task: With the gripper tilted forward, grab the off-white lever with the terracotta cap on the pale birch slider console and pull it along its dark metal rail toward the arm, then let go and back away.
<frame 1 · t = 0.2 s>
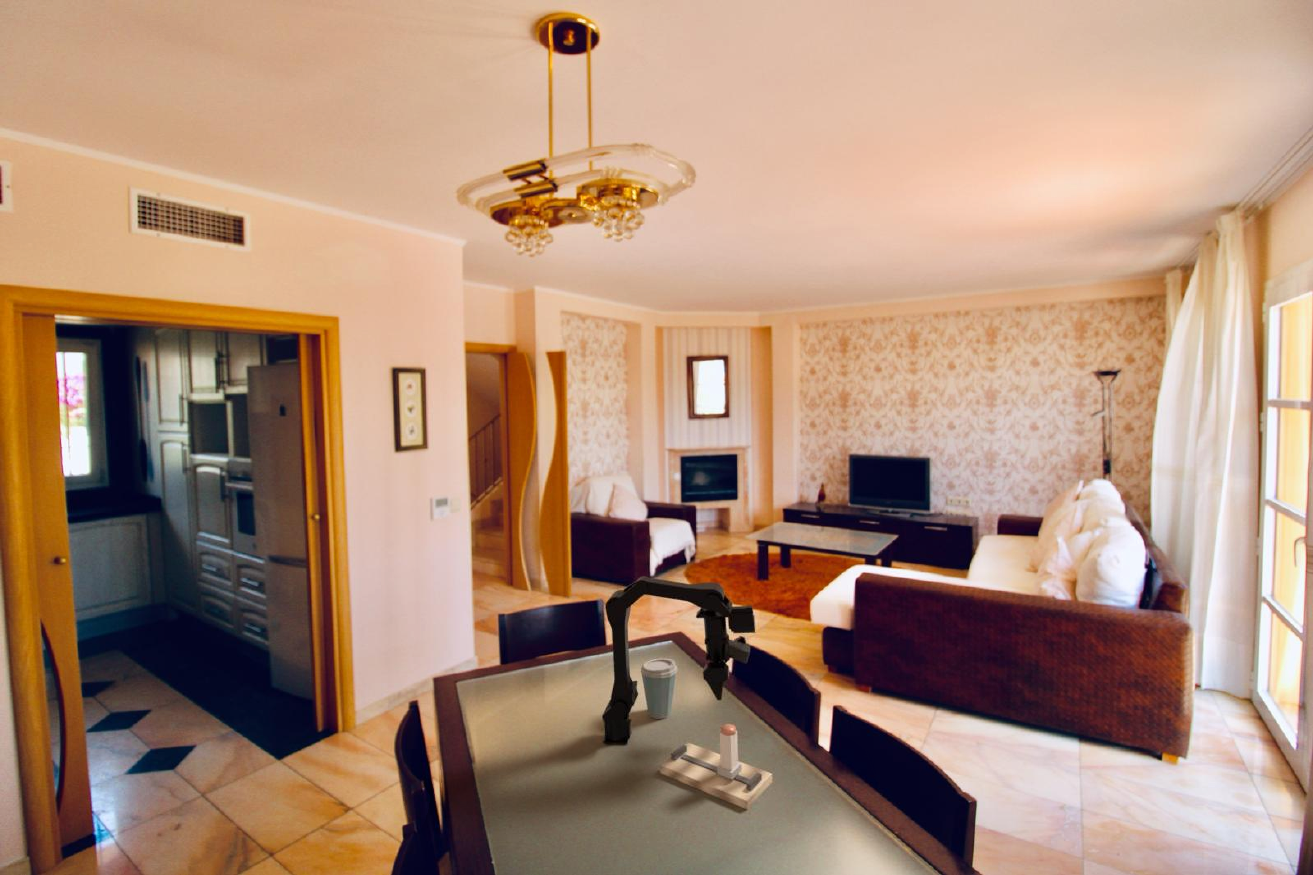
hand: (720, 691, 162), 14 cm above the table, tool pointing down, fingers open, 9 cm apart
slider console: (715, 777, 148), on the table
disposable coffee cup: (660, 713, 180), on the table
slider lever: (728, 750, 146), point 8 cm above the table, slide at 0.0 cm
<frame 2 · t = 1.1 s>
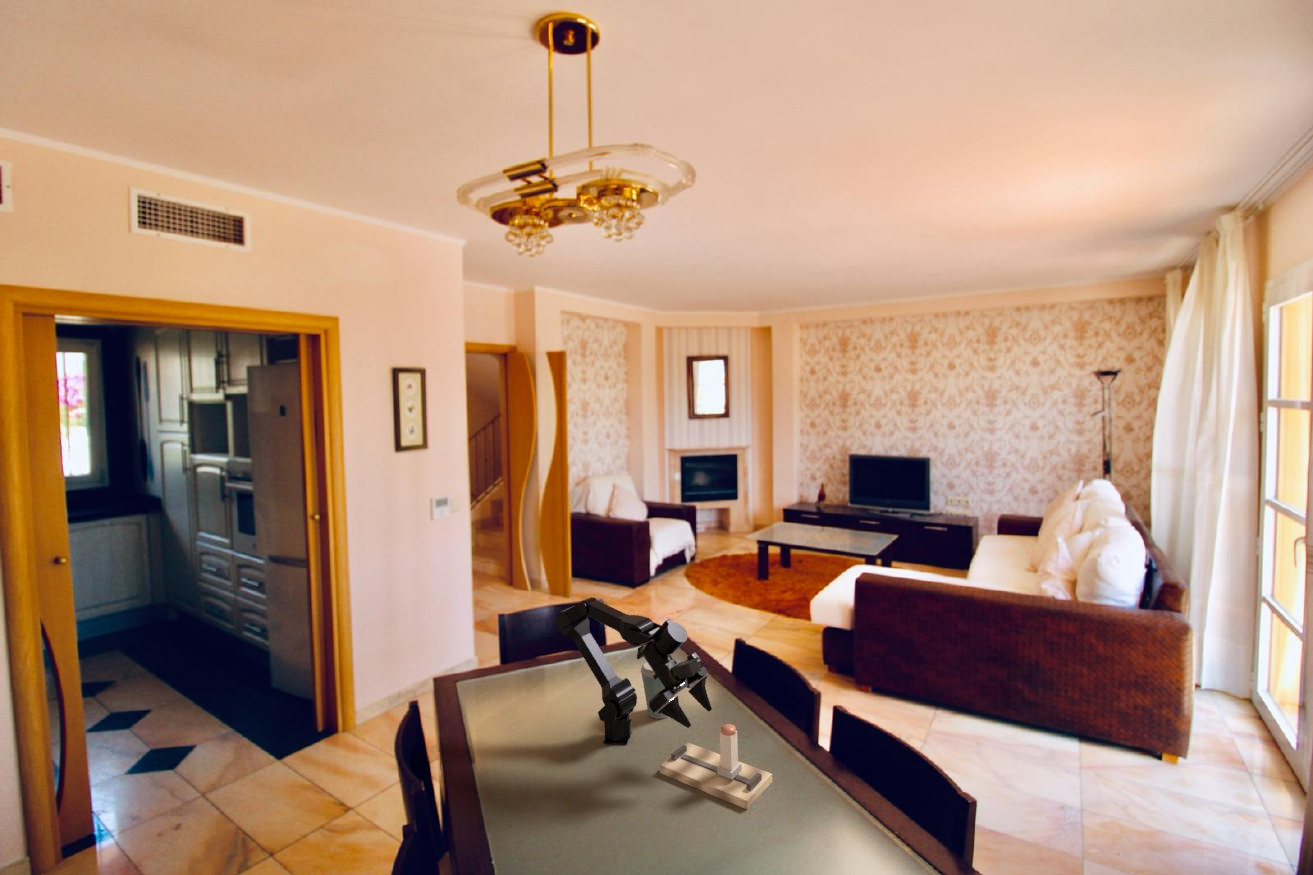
hand: (700, 718, 150), 13 cm above the table, tool tilted 45°, fingers open, 9 cm apart
nothing on the table moved.
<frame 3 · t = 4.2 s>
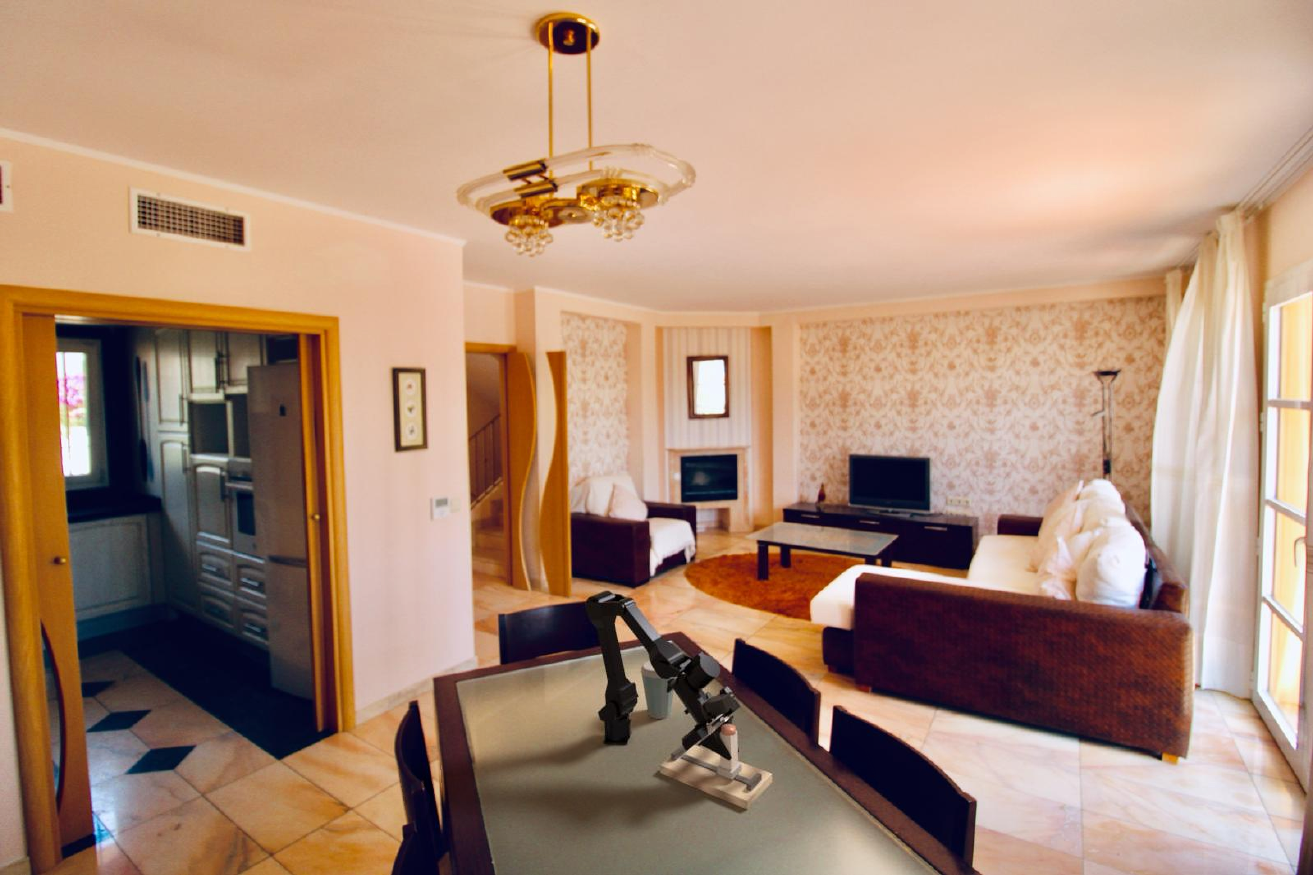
hand: (734, 756, 145), 7 cm above the table, tool tilted 45°, fingers closed on slider lever, 3 cm apart
slider lever: (728, 750, 146), point 8 cm above the table, slide at 0.0 cm, touching gripper
everything else where it was.
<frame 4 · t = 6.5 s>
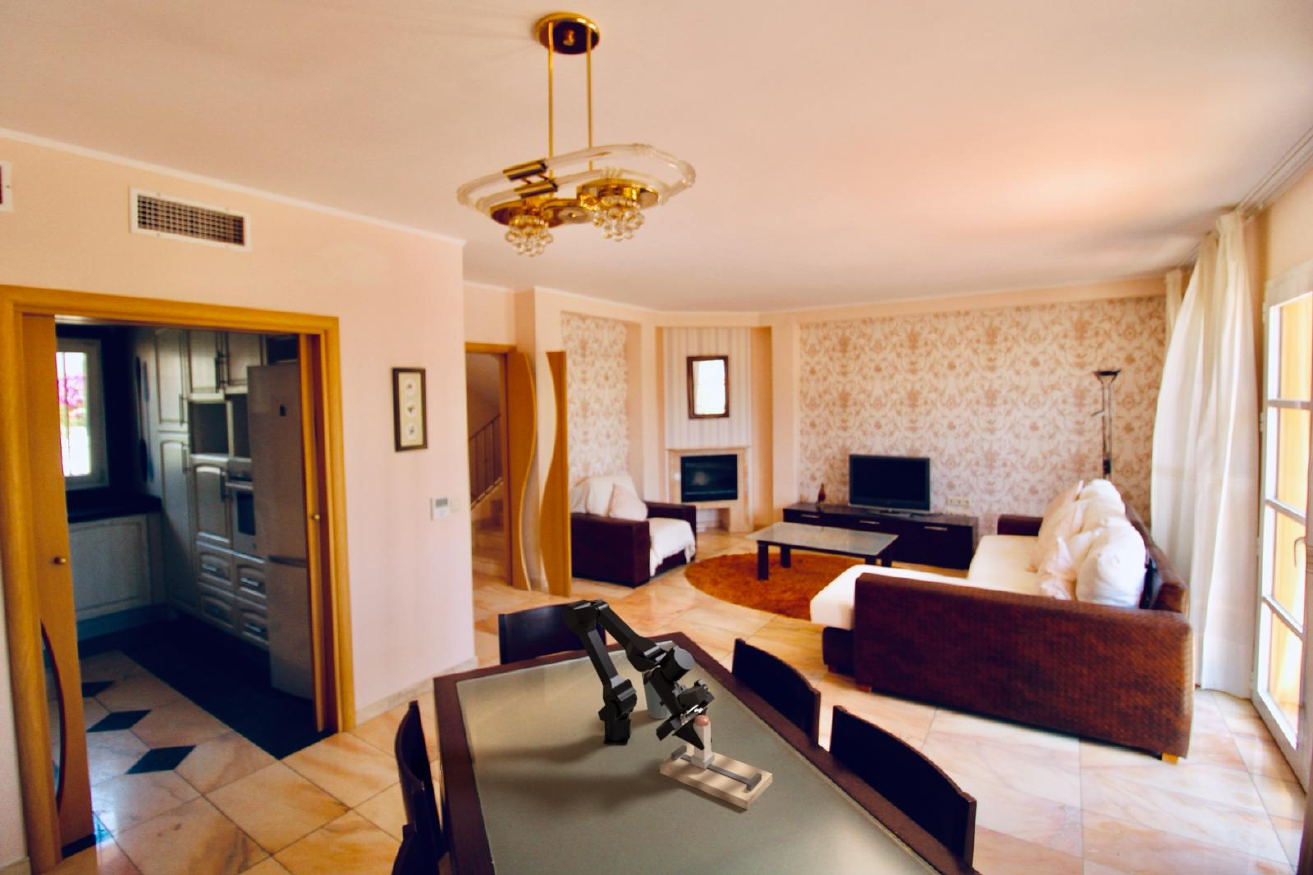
hand: (707, 746, 149), 7 cm above the table, tool tilted 45°, fingers closed on slider lever, 3 cm apart
slider lever: (702, 740, 150), point 8 cm above the table, slide at 7.4 cm, touching gripper
everything else where it was.
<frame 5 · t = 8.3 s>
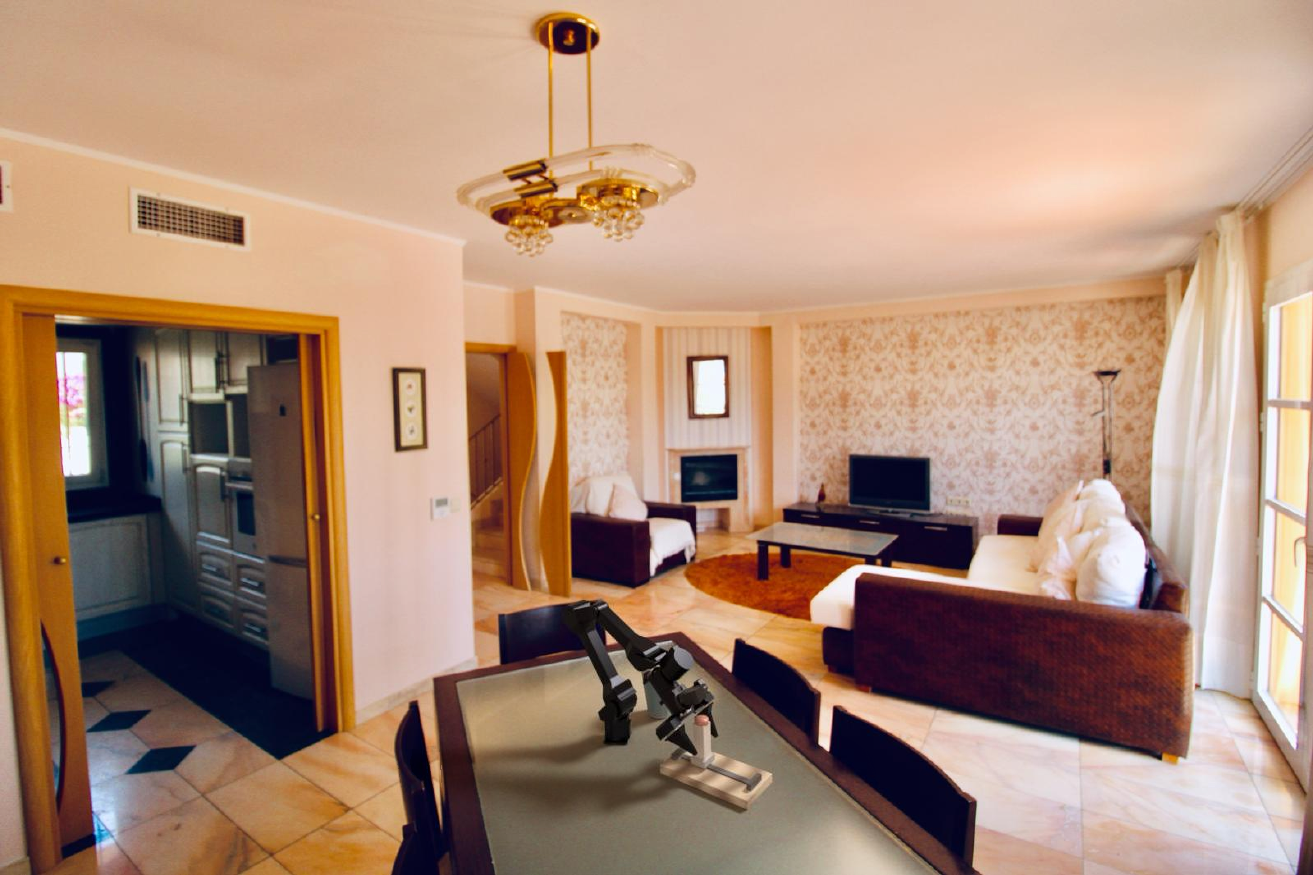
hand: (706, 745, 149), 7 cm above the table, tool tilted 45°, fingers open, 9 cm apart
slider lever: (702, 740, 150), point 8 cm above the table, slide at 7.5 cm
everything else where it was.
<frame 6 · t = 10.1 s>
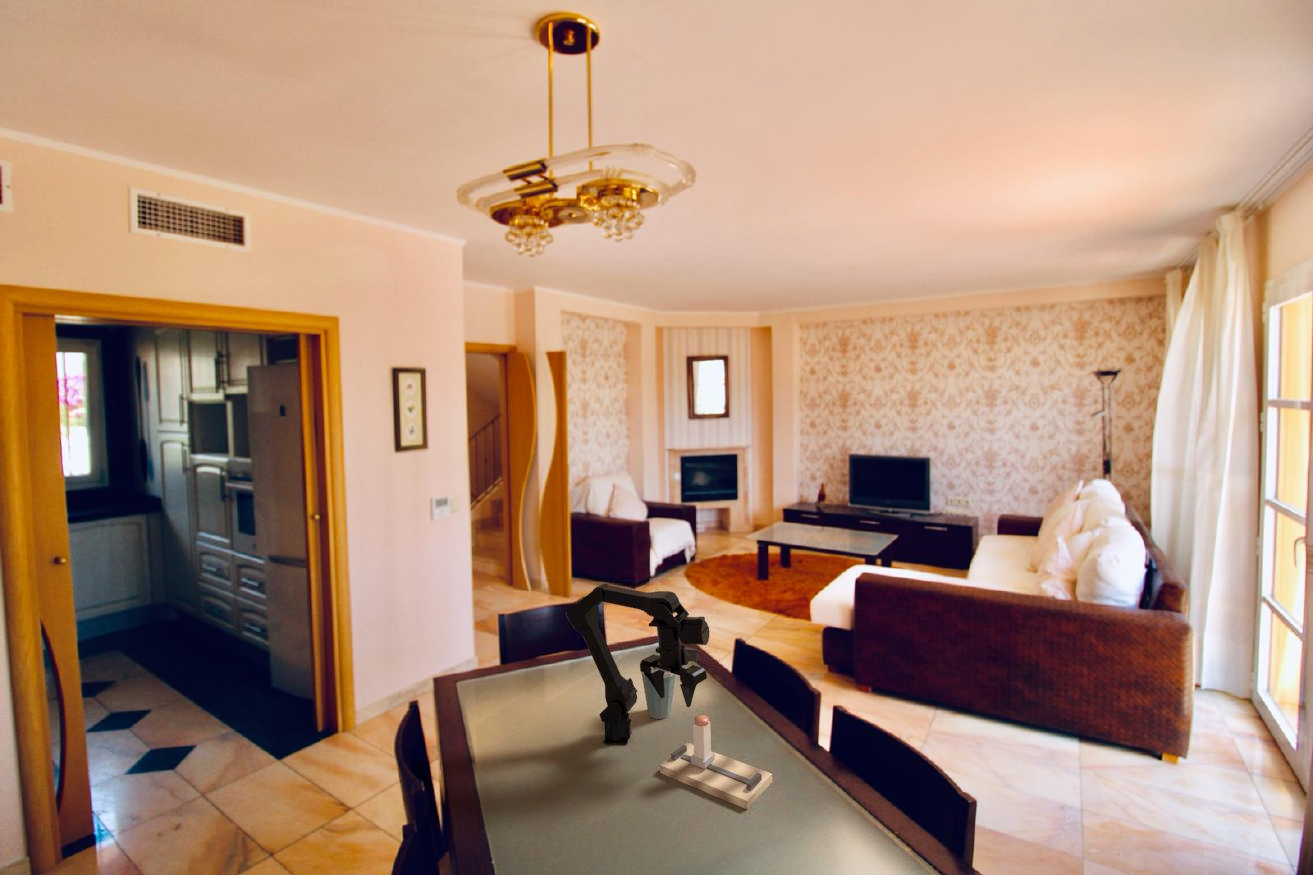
hand: (675, 702, 160), 13 cm above the table, tool pointing down, fingers open, 9 cm apart
nothing on the table moved.
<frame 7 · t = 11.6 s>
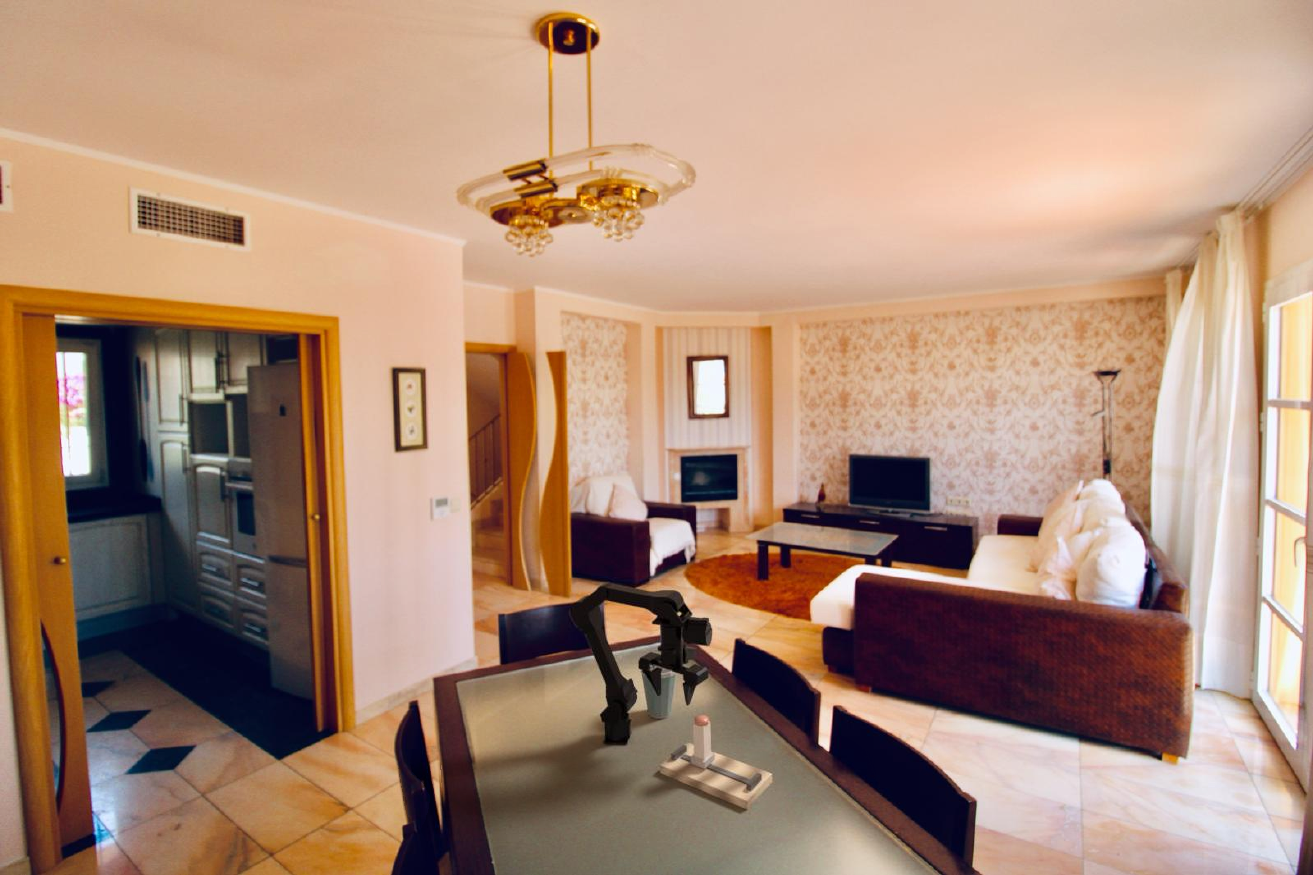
hand: (673, 700, 160), 13 cm above the table, tool pointing down, fingers open, 9 cm apart
nothing on the table moved.
at the end: slider lever slide at 7.5 cm; the gripper is holding nothing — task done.
